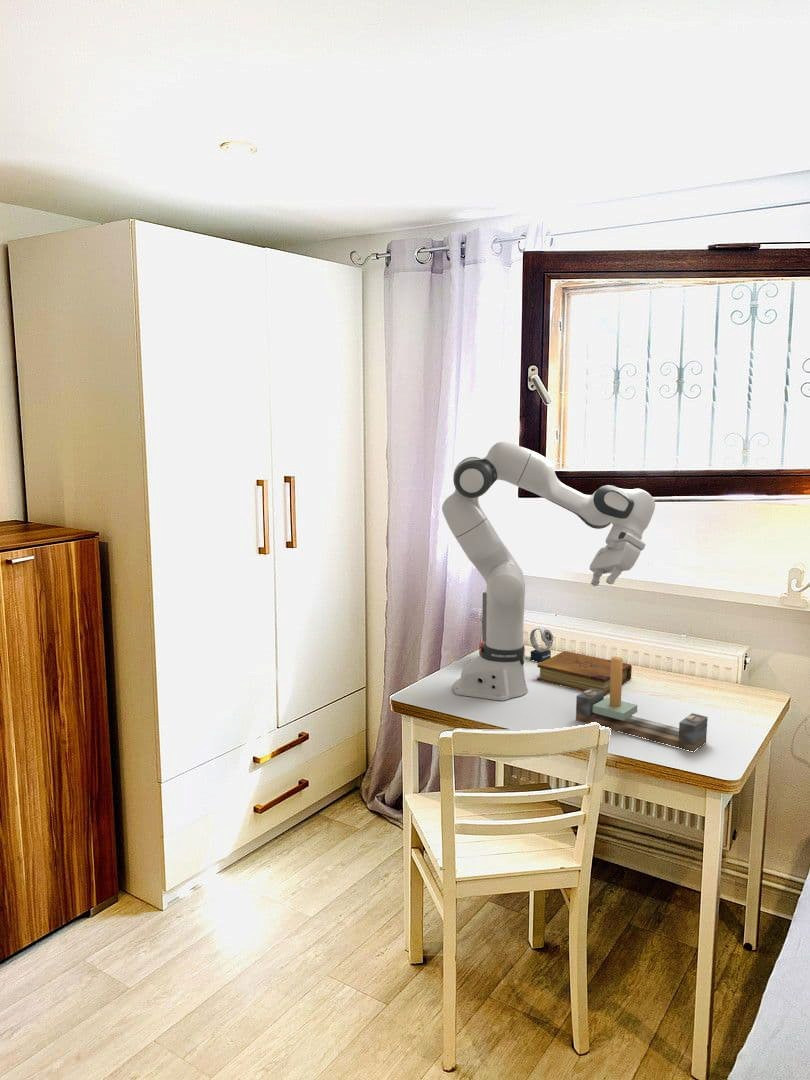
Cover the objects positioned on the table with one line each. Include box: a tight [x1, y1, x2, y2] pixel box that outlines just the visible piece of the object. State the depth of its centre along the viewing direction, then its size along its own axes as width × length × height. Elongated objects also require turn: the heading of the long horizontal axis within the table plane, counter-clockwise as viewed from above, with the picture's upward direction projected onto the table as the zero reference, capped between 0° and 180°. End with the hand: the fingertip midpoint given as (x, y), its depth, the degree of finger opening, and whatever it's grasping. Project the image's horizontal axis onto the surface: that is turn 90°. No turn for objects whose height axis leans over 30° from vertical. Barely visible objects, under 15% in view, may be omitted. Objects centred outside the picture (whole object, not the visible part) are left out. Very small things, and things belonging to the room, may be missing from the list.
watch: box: [529, 626, 554, 663], centre depth 278 cm, size 6×8×11 cm
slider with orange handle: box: [593, 656, 638, 721], centre depth 222 cm, size 9×8×15 cm
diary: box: [536, 650, 633, 697], centre depth 259 cm, size 23×19×6 cm
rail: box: [575, 688, 709, 753], centre depth 218 cm, size 33×8×8 cm, turn 49°
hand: (601, 584), depth 233 cm, fingers open, 8 cm apart
